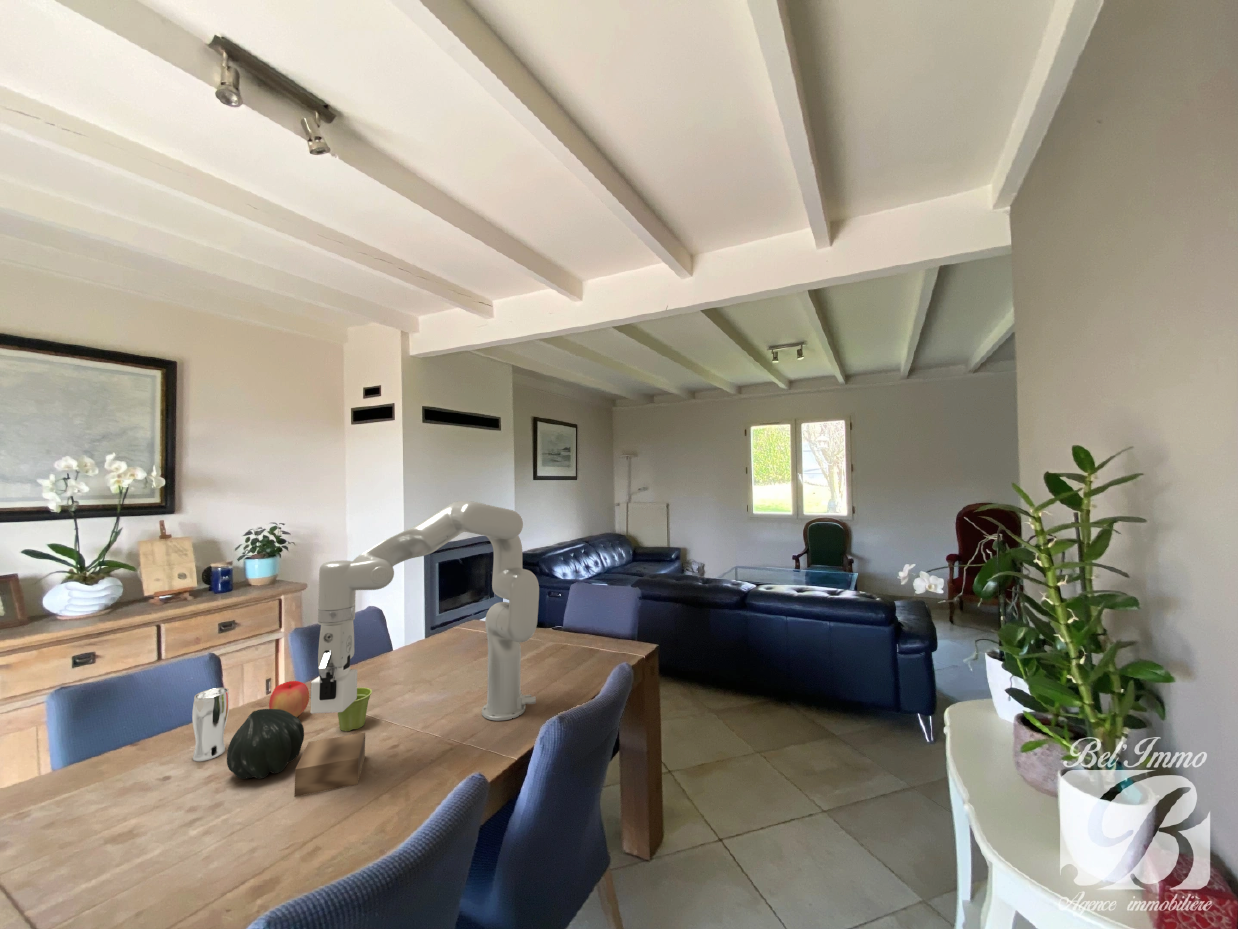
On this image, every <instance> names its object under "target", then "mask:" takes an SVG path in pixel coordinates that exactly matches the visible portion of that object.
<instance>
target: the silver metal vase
mask: <svg viewBox="0 0 1238 929" xmlns="http://www.w3.org/2000/svg"><path fill="white" fill-rule="evenodd" d="M192 705H193V706H192V713H191V714H192V715H191V717H192V727H193V728H192V729H193V733H194V737H195V738H194V739H195V747H194V751H193V755H192V760H193V761H194V762H204V761H205V762H206V761H210V760H213V759H216V758H217V757H219V756H221V755H222V754H224V753H225V751H226V746H225V742H224V741H225V739H224V734H225V731H226V730H225V729H226V726H227V721H228V717H229V712H230V711H229V709H230V695H229V688H227V687H216V688H211V689H205V690H202V691H201V692H198V693H197V694H195V695H194V698H193V704H192Z"/></svg>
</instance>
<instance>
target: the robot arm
mask: <svg viewBox="0 0 1238 929" xmlns="http://www.w3.org/2000/svg"><path fill="white" fill-rule="evenodd" d="M523 526H524V522H523V518H522V516H521V514H519V513H518V512H517V511H515V510H513V509H509V508H504V507H499V506H494V505H490V504H486V503H482V502H478V501H470V500H469V501H468V500H459V501H454V502H452V503H450V504H448V505H446V506H445V507H443V508H442V509H440V510H438V511H437V512H435V513H433V514H432V515H430V516H428V517H427V518H426V519H424V520H422V521H421V522H419V523H417V524H416V525H414V526H412V527H410V528H406V529H405V530H404V531H402V532H399V533H398V534H395V535H393V536H391V537H389V538H386V539H384V540H382V541H380V542H379V543H377V544H375V545H374V546H372V547H370V548H368V549H367V550H365V551H364V552H363V553H361V554H359V555H358V556H356V557H355V558H354V559H353V560H331V561H327V562H324V563H322V564H321V565H320V567H319V570H318V571H319V573H318V598H317V599H318V603H317V625H319V626H320V630H319V640H318V651H317V654H318V655H317V656H318V657H317V663H318V664H317V665H318V673H319V675H318V677H320V680H319V682H320V695H319V699H320V700H331V699H335V698H336V680H335V675H336V670H337V667H338V668H342V667H343V666H344V665H345V664H346V663H347V657H348V656H349V655H350V660H351V659H352V658H353V657H354V655H355V625H354V620H355V619H356V592H357V591H378V590H381V589H384V588H385V587H387V586H389V585H390V584H391V583H392V581H393V579H394V577H395V569H394V567H395V566H397V565H398V564H400V563H402V562H405V561H408V560H410V559H415V558H420V557H424V556H427V555H430V554H432V553H434V552H436V551H437V550H439V549H440V548H442V547H443V546H445V545H446V544H448V543H449V542H450V541H452V540H453V539H455V538H456V537H458V536H460V535H461V534H462V533H469V534H475V535H478V536H479V535H480V536H485V537H486V538H487V539H488V540H489V542H490V543H491V546H492V549H493V565H492V579H491V580H492V581H491V585H492V586H491V587H492V592H493V593H494V594H495V595H496V596H497V597H499V598H501V599H505V600H508V602H506V601H499V602H496V603H494V604H493V605H491V607H489V609H488V611H487V612H486V614H485V619H484V620H485V621H484V622H485V623H484V626H485V632H486V639H487V691H486V692H487V694H486V695H487V696H486V700H487V702H486V704H484V705H483V707H482V708H481V715H482V717H483V718H485V719H487V720H490V721H495V722H496V721H497V722H498V721H507V720H513V719H515V718H517V717H520V716H521V715H523V714H524V713H525V711H526V705H535V704H536V702H537V701H536V700H537V699H536V698H537V697H536V696H532V694H522V689H521V666H522V665H521V662H522V660H521V658H522V657H521V654H522V653H521V652H522V651H521V650H522V648H521V643H525V642H528V641H529V640H530V639H531V638H532V637H533V635H534V634H535V633H536V629H537V627H538V626H537V625H538V617H539V616H538V615H539V600H540V586H539V585H540V584H539V580H538V578H537V576H536V575H535V574H534V573H533V572H532V571H531V570H529V569H525V568H523V544H522V540H521V538H520V536H519V535H520V534H521V532H522V530H523V528H524V527H523ZM329 664H334V666H330V667H328V665H329ZM328 670H332V674H330V672H328ZM519 715H520V716H519ZM512 718H513V719H512Z"/></svg>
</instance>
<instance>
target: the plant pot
mask: <svg viewBox="0 0 1238 929" xmlns="http://www.w3.org/2000/svg"><path fill="white" fill-rule="evenodd" d="M372 693H373V689H371V688H369V687H357V699H356V700H355V701H354V702H353V703H352V704H350V705H349V706H348V707H347V708H346V709H345V710H344V711H343V712H337V717H338V726H339V730H340V731H342V732H350V731H352V730H358V729H360V728H362V727H363V726H364V725H365V723H366V718H367V710H368V705H369V701H370V698H371V695H372Z"/></svg>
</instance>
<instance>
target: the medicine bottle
mask: <svg viewBox="0 0 1238 929" xmlns="http://www.w3.org/2000/svg"><path fill="white" fill-rule="evenodd" d="M330 666H334V664H329V665H328V667H330ZM328 672H330V674H332V670H328ZM319 680H320V677H319V676H318V677H316V678H314V679H313V680H312V681H311V682H310V701H309V702H310V704H309V705H310V706H309V707H310V711H309V712H310V714H332V713H333V714H334V713H338V712H343V711H344V710H345V709H346V708H347V707H348V706H349V705H350V704H352V703H353V702H354V701H355V700H356V699H357V688H358V669H357V668H355V669H354V668H353V669H351V659H350V655H349V656H348V657H347V663H346V664H345V665H344V666H343V667H342V668H338V667H337V670H336V675H335V680H336V698H335V699H331V700H320V699H319V695H320V682H319Z"/></svg>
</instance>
